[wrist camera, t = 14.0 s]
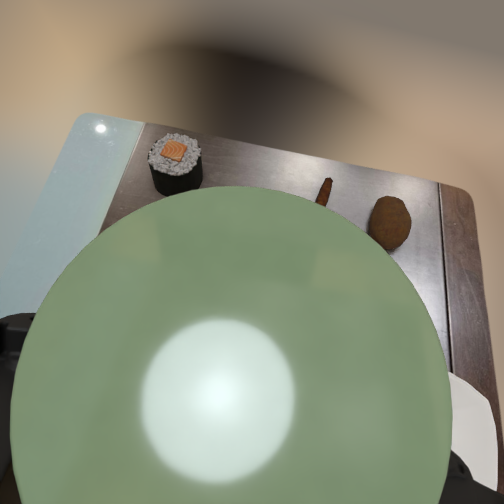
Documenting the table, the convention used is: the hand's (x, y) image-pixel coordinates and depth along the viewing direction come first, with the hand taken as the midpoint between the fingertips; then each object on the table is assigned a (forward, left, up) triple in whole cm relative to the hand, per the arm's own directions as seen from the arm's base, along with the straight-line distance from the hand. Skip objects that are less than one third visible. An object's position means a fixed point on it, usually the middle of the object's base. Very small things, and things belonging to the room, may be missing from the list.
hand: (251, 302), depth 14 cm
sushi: (-17, +32, -40) cm, 53 cm away
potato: (+20, +31, -40) cm, 54 cm away
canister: (0, -4, -3) cm, 5 cm away
